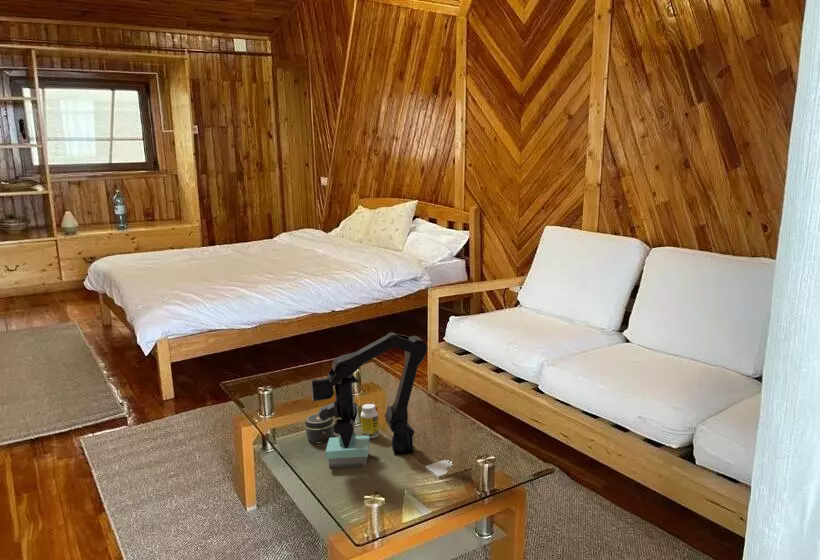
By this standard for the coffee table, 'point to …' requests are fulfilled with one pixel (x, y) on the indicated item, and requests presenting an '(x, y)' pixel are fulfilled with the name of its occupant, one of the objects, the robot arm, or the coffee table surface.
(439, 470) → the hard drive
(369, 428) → the pill bottle
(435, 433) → the coffee table surface
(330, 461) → the storage box
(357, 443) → the lid
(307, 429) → the jar
